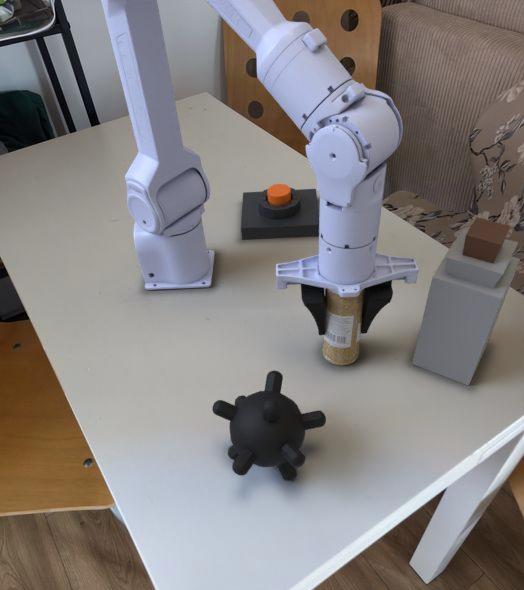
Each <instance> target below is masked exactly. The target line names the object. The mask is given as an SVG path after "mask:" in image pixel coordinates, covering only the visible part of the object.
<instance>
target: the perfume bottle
mask: <svg viewBox="0 0 524 590" xmlns="http://www.w3.org/2000/svg"><path fill="white" fill-rule="evenodd" d="M511 227H512V226H511V225H507V224H504V223H500V222H496V221H492V220H489V219H485V218H480V217H478V216H476V217H475V219H474V221H473V222H472V224H471V226H470V227H469V228H465V227H463V228H462V230H461V231H460V233H459V235H458V236H457V238H456V240H454V241H453V243H452V244H451V246H450V247H449V249H448V251H447V252H446V254H445V256H444V257H443V259H442V260H441V262H440V264H439V265H438V267H437V268H436V271H435V272H434V274H433V275H432V277H431V280H430V281H431V282H430V286H429V289H428V294H427V298H426V302H425V308H424V311H423V315H422V320H421V323H420V328H419V332H418V337H417V341H416V345H415V350H414V354H413V357H412V358H413V359H412V363H411V364H412V365H413V366H417V367H419V368H422V369H425V370H426V371H429V372H432V373H434V374H437V375H439V376H442V377H445V378H447V379H450V380H452V381H455V382H458V383H460V384H463V385H466V386H470V384H471V382H472V379H473V377H474V375H475V373H476V371H477V368H478V366H479V364H480V362H481V360H482V357H483V355H484V353H485V352H486V349H487V346H488V344H489V341H490V338H491V336H492V334H493V331H494V328H495V325H496V323H497V321H498V318H499V316H500V313H501V310H502V309H503V308H502V307H503V305H504V302H505V300H506V297H507V295H508V292H509V289H510V287H511V284H512V282H513V279H514V276H515V274H516V271H517V268H518V266H519V263H520V261H521V258H519V257H515V256H513V255H514V253H515V251H516V248H517V246H518V244H519V242H518V241H514V240H511V239H506V238H507V235H508V234H509V231H510V229H511Z"/></svg>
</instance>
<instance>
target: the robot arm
mask: <svg viewBox="0 0 524 590" xmlns="http://www.w3.org/2000/svg"><path fill="white" fill-rule="evenodd" d="M100 2H101V6H102V10H103V14H104V18H105V23H106V27H107V30H108V35H109V38H110V39H109V40H110V42H111V47H112V50H113V55H114V58H115V62H116V66H117V70H118V74H119V78H120V82H121V87H122V90H123V94H124V98H125V103H126V106H127V110H128V114H129V119H130V122H131V126H132V127H131V128H132V131H133V135H134V139H135V142H136V147H137V150H138V151H137V154H136V156H135V157H134V159H133V162H131V165H130V167H129V168H128V170H127V171H126V173H125V176H124V180H125V181H124V182H125V184H126V190H127V192H126V204H127V209H128V212H129V214H130V216H131V218H132V219H133V221H134V224H133V245H134V250H135V254H136V257H137V260H138V264H139V266H140V270H141V273H142V276H143V280H144V283H145V284H144V289H145V290H148V291H149V290H153V291H155V290H175V289H177V290H178V289H197V288H198V289H199V288H201V289H202V288H210V287H211V286H212V280H213V271H214V264H215V255H216V254H215V251H214V249H213V250H212V249H210V250H208V246H207V240H206V234H205V230H204V229H205V228H204V224H203V218H202V215H203V214H204V213H205V203H207V202H208V201H209V200H210V197H211V187H210V182H209V179H208V177H207V174H206V173H205V171H204V169H203V166H202V161H201V160H202V159H201V156H200V155H199V154H198V153H197V152H195V151H194V150H193V149H191V148H189V147H187V146H185V145H184V143H183V138H182V137H183V136H182V132H181V127H180V122H179V115H178V109H177V103H176V99H175V93H174V88H173V87H174V86H173V81H172V76H171V70H170V67H169V60H168V54H167V48H166V42H165V37H164V32H163V31H164V30H163V25H162V20H161V16H160V15H161V14H160V10H159V3H158V0H100ZM205 2H206V3H207V4H208V5H209V6H210V7H211V8H212V9H213V10H214V11H215V12H216V14H218V16H220V17H221V19H222V20H223V21H224V22H225V23H226V24H227V25H228V26H229V27H230V28H231V29H232V30H233V31H234V32H235V33H236V34H237V35H238V36H239V38H240V39H241V40H242V41H244V43H245V44H246V45H247V46H248V47H249V48H250V49H251V50H252V51H253V53H255V56H256V76H257V80H258V81H259V82H260V83H261V85H263V87H264V88H265V89H266V90H267V92H268V93H269V94H270V95H271V97H272V98H273V99H274V100H275V101H276V102H277V104H278V105H279V107H281V109H282V110H283V111H284V112H285V113H286V115H287V117H289V118H290V120H291V121H292V122H293V123H294V124H295V126H296V127H297V128H298V129H299V130H300V132H301V133H302V134H303V135H304V137H305V138H306V140H307V141H308V144H306V145H305V154H306V159H307V161H308V163H309V166H310V168H311V170H312V171H313V173H314V175H315V178H316V193H319V236H318V254H316V255H311V256H307V257H304V258H301V259H296V260H293V261H288V262H282V263H281V262H280V263H276V264H275V278H276V279H275V280H276V290H287V289H288V286H295V285H297V286H298V285H300V293H301V294H300V295H301V296H300V297H301V301H302V303H303V306H304V307H305V308H306V309H307V310H308V311H309V313H310V314H311V316H312V317H313V320H314V323H315V325H316V327H317V331H318V336H323V335H325V323H324V313H325V304H326V303H325V288H327V289H332V290H337V291H338V293H339V296H341V297H356V296H359V294H360V289H363V288H365V290H364V301H363V310H362V325H361V335H362V334H367V333H368V331H369V329H370V326H371V325H372V323H373V321H374V320H375V318H376V317H377V316H378V314H379V313H380V312H381V311H382V309H383V308H385V307H386V306H387V305H388V304H390V303H391V301H392V299H393V295H394V291H393V286H392V285H393V281H404V283H405V284H407V285H411V284H412V285H413V284H416V283H417V280H418V275H419V270H420V269H419V266H418V262H417V259H416V257H403V256H396V255H389V254H383V253H377V248H378V239H379V231H380V223H381V215H382V207H383V201H384V200H383V198H384V191H385V181H386V180H385V179H386V173H387V165H388V164H387V163H386V160H387V159H389V158H390V157H391V156H392V155H393V154H394V153H395V151H396V150H397V149H398V148H399V146H400V144H401V142H402V139H403V135H404V134H403V133H404V125H403V119H402V117H401V113H400V112H399V110H398V108H397V107H396V105H395V103H394V100H393V98H392V97H390V95H388V94H387V93H385V92H383V91H380V90H377V89H370V88H368V87H366V86H365V84H364V83H363V82H360V83H359V81H356V80H355V79H354V78H353V76H352V75H351V74H350V73H349V71H348V70H347V69H346V68H345V67H344V65H343V64H342V63H341V62H340V60H339V59H338V58H337V57H336V55H335V54H334V53H333V52H332V50H331V49H330V48H329V46H328V45H326V44H327V42H328V39H327V37H326V36H325V35H324V34H323V32H322V31H321V30H320V29H319V28H313V27H312V25H311V24H310V23H308V22H305V21H290V20H288V19H286V18H285V16H284V15H283V13H282V12H281V11H280V9H279V7H278V6H277V4H276V3H275V1H274V0H205Z"/></svg>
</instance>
